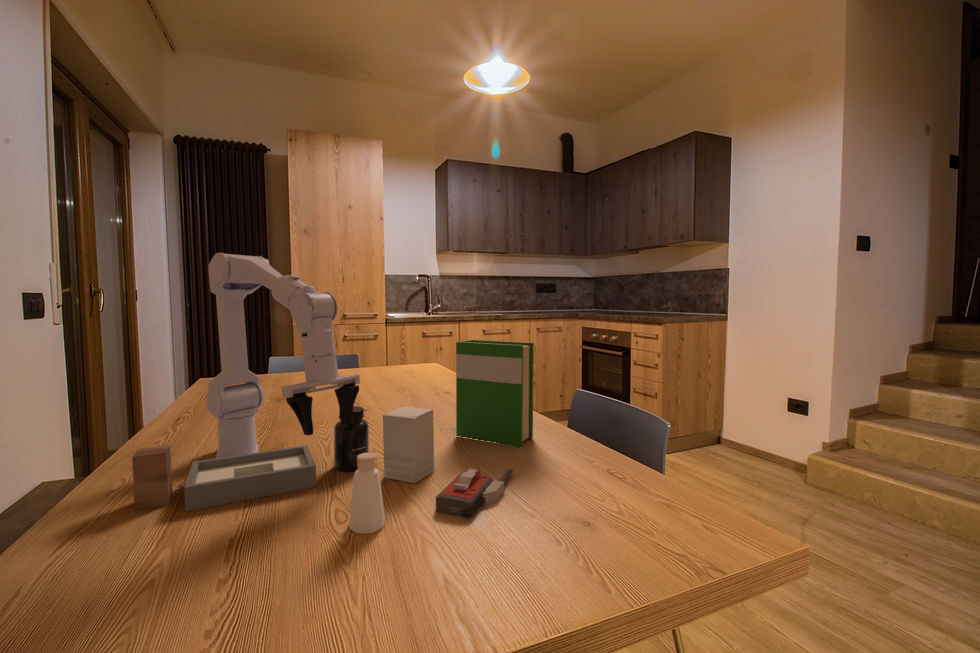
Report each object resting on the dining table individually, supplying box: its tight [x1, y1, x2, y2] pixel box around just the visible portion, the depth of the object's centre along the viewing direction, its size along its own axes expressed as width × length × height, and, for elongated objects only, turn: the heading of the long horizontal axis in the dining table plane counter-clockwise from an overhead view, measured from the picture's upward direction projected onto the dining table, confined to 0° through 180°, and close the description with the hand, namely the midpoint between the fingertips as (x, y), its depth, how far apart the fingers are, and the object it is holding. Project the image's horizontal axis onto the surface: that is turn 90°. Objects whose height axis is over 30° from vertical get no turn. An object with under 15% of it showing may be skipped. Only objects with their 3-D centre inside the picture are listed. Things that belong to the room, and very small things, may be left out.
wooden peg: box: [131, 444, 174, 512], centre depth 75 cm, size 4×4×9 cm
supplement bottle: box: [333, 405, 370, 472], centre depth 91 cm, size 7×7×12 cm
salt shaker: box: [348, 452, 386, 535], centre depth 68 cm, size 5×5×11 cm
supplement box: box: [382, 406, 435, 484], centre depth 87 cm, size 7×7×13 cm
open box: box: [184, 444, 317, 512], centre depth 82 cm, size 13×20×4 cm, turn 119°
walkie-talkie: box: [435, 468, 514, 519], centre depth 79 cm, size 9×4×20 cm
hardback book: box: [455, 339, 535, 448], centre depth 110 cm, size 18×7×24 cm, turn 63°
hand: (328, 429), depth 82 cm, fingers open, 7 cm apart
